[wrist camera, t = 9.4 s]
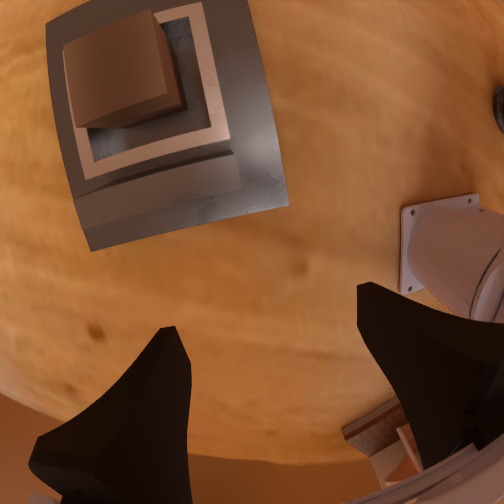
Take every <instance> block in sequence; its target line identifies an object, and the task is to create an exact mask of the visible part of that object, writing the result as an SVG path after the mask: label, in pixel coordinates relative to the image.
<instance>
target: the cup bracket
mask: <svg viewBox="0 0 504 504" xmlns="http://www.w3.org/2000/svg"><path fill="white" fill-rule="evenodd" d="M150 9H151V10H152V12H153V14H154V16H155V17H156V19H157V21H158V22H159V24H160V26H161V28H162V29H163V31H164V33H165V35H166V36H167V38H168V40H169V42H170V43H171V45H172V47H173V49H174V50H175V52H176V57H177V61H178V66H179V71H180V75H181V80H182V84H183V89H184V93H185V98H186V102H187V106H188V110H185V111H182V112H178V113H175V114H171V115H168V116H164V117H161V118H158V119H155V120H152V121H148V122H145V123H142V124H139V125H136V126H134V127H131V128H128V129H119V128H76V125H75V121H74V116H73V110H72V105H71V100H70V94H69V88H68V81H67V74H66V67H65V58H64V49H63V46H64V45H66V44H68V43H70V42H72V41H74V40H76V39H78V38H80V37H82V36H84V35H86V34H88V33H90V32H93V31H95V30H97V29H99V28H102V27H104V26H106V25H109V24H111V23H114V22H116V21H119V20H121V19H124V18H126V17H129V16H132V15H135V14H138V13H141V12H144V11H147V10H150ZM46 50H47V64H48V75H49V84H50V92H51V99H52V106H53V112H54V118H55V124H56V129H57V135H58V139H59V144H60V149H61V153H62V158H63V162H64V166H65V170H66V174H67V178H68V182H69V185H70V189H71V192H72V196H73V199H74V200H73V202H74V205H75V208H76V211H77V215H78V218H79V221H80V224H81V227H82V230H83V231H84V234H85V237H86V239H87V242H88V245H89V248H90V251H91V252H93V251H96V250H100V249H104V248H108V247H111V246H115V245H119V244H123V243H127V242H131V241H134V240H138V239H142V238H146V237H150V236H154V235H159V234H163V233H167V232H171V231H175V230H179V229H183V228H188V227H192V226H196V225H201V224H205V223H209V222H214V221H218V220H223V219H227V218H232V217H236V216H241V215H246V214H250V213H255V212H260V211H265V210H269V209H274V208H279V207H284V206H289V200H288V194H287V188H286V182H285V176H284V170H283V165H282V159H281V154H280V148H279V143H278V137H277V132H276V127H275V122H274V117H273V112H272V107H271V102H270V97H269V92H268V87H267V83H266V78H265V73H264V69H263V64H262V60H261V55H260V51H259V47H258V42H257V38H256V34H255V30H254V26H253V21H252V17H251V13H250V9H249V5H248V2H247V0H91V1H89V2H87V3H84V4H82V5H80V6H78V7H76V8H74V9H72V10H70V11H68V12H66V13H64V14H62V15H60V16H58V17H57V18H55V19H53V20H51V21H49V22H48V23H46Z"/></svg>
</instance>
